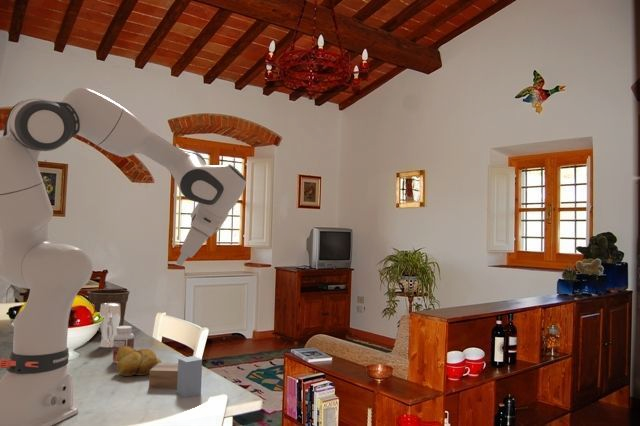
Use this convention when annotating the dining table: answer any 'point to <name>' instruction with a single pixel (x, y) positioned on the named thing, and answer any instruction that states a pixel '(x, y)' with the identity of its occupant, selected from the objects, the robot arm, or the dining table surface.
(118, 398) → the dining table surface
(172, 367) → the walnut block
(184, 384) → the slate block
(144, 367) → the bread roll
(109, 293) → the plant pot
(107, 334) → the beer glass
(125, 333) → the pill bottle
